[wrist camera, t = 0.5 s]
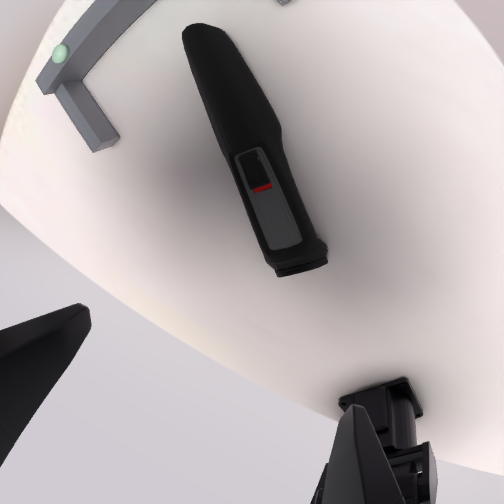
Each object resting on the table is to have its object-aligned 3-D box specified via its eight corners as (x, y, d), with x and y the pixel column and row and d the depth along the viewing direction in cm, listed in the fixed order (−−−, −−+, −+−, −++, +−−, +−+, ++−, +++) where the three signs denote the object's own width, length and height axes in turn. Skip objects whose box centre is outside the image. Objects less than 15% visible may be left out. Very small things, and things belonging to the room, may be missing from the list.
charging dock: (297, -4, 13) (289, -24, 10) (111, 146, 19) (78, 158, 16) (224, -73, 11) (204, -97, 8) (65, 77, 17) (30, 81, 14)
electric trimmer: (240, 20, 14) (222, 6, 12) (333, 257, 20) (332, 285, 17) (183, 47, 16) (157, 41, 13) (278, 271, 21) (268, 298, 18)
